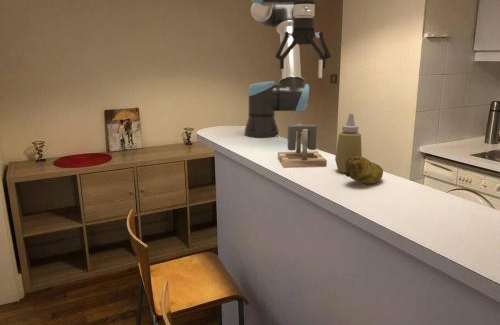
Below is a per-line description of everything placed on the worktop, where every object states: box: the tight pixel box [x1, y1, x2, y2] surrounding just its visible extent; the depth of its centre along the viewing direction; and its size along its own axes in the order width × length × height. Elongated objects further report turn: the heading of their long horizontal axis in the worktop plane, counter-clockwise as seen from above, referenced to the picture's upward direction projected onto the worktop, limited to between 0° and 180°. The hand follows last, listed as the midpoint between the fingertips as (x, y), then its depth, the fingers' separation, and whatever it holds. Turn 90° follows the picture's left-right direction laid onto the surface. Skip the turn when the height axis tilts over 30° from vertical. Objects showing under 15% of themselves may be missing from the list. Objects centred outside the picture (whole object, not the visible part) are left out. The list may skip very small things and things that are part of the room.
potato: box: [345, 156, 384, 185], centre depth 116 cm, size 8×13×8 cm, turn 104°
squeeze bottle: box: [334, 113, 363, 174], centre depth 126 cm, size 8×8×18 cm
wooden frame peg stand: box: [277, 123, 328, 169], centre depth 139 cm, size 13×14×12 cm
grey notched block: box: [287, 124, 317, 151], centre depth 138 cm, size 9×3×8 cm, turn 95°
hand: (302, 78), depth 154 cm, fingers open, 13 cm apart
